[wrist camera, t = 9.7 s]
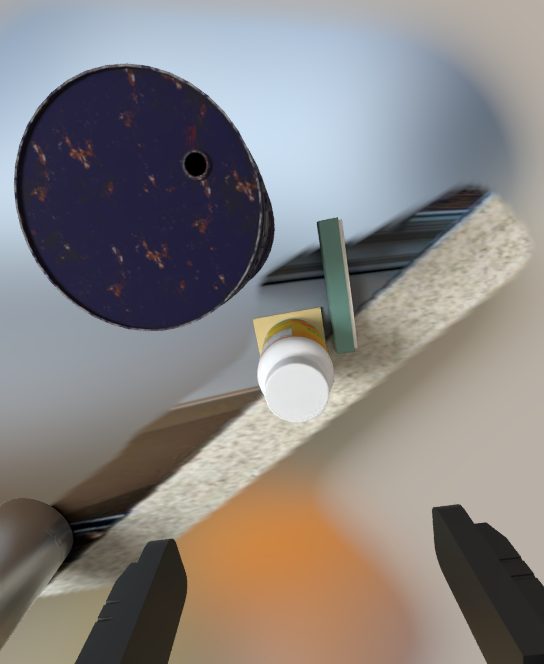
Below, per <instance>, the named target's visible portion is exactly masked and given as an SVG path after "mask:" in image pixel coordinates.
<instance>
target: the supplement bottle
mask: <svg viewBox="0 0 544 664" xmlns="http://www.w3.org/2000/svg"><path fill="white" fill-rule="evenodd" d="M333 381H334V368H333V363H332V360H331V358H330V355H329V353H328V350H327V348H326V345H325V343H324V340H323V338H322V335H321V333H320V332H319V330H318V329H317V328H316V327H315V326H314V325H313V324H312V323H310V322H308V321H306V320H303V319H299V318H289V319H285V320H282V321H280V322H278V323H276V324H275V325H274V326H273V327H272V328H271V329H270V330H269V331H268V333H267V335H266V337H265V339H264V343H263V347H262V352H261V356H260V360H259V365H258V382H259V386H260V388H261V390H262V392H263V394H264V395H265V399H266V402H267V405H268V407H269V408H270V410H271V411H272V412H273V413H274V414H275V415H276V416H278V417H279V418H281V419H283V420H286V421H289V422H296V423H297V422H305V421H309V420H311V419H313V418H315V417H317V416H318V415H319V414H320V413H321V412H322V411H323V410H324V408H325V407H326V405H327V403H328V400H329V392H330V390H331V388H332V385H333Z"/></svg>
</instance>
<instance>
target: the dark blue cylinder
mask: <svg viewBox="0 0 544 664" xmlns="http://www.w3.org/2000/svg"><path fill="white" fill-rule="evenodd" d="M14 191H15V202H16V209H17V214H18V218H19V222H20V226H21V229H22V232H23V234H24V237H25V240H26V242H27V245H28V247H29V249H30V251H31V253H32V255H33V256H34V258H35V260H36V262H37V264H38V265H39V267H40V268H41V269H42V271H43V272H44V274H45V275H46V276H47V278H48V279H49V280H50V282H51V283H52V284H53V285H54V286H55V287H56V288H57V289H58V290H59V291H60V292H61V293H62V294H63V295H64V296H65V297H66V298H67V299H69V300H70V301H71V302H72V303H74V304H75V305H76V306H77V307H79V308H81V309H82V310H84V311H85V312H87V313H89V314H90V315H92V316H94V317H95V318H98V319H100V320H103V321H105V322H107V323H109V324H112V325H116V326H119V327H123V328H127V329H133V330H141V331H162V330H168V329H174V328H179V327H182V326H185V325H188V324H190V323H193V322H195V321H198V320H200V319H201V318H203V317H205V316H207V315H208V314H210V313H212V312H213V311H214V310H216V309H217V308H218V307H219V306H221V305H223V304H224V303H226V302H227V301H228V300H229V299H231V298H232V297H233V296H234V295H236V294H237V293H238V292H239V291H240V290H241V289H242V288H243V287H244V286H245V284H246V283H247V282H248V281H249V280H251V279H252V278H253V277H254V276H255V275H256V274H257V273H258V272H259V270H260V269H261V268H262V266H263V265H264V263H265V261H266V260H267V258H268V256H269V253H270V251H271V248H272V243H273V239H274V231H275V229H274V216H273V211H272V206H271V202H270V199H269V196H268V193H267V190H266V188H265V185H264V182H263V179H262V176H261V174H260V172H259V169H258V166H257V164H256V162H255V161H254V159H253V157H252V155H251V153H250V151H249V149H248V148H247V146H246V144H245V143H244V141H243V139H242V137H241V135H240V133H239V131H238V130H237V128H236V127H235V126H234V124H233V123H232V122H231V120H230V119H229V117H228V116H227V115H226V113H225V112H224V111H223V110H222V109H221V108H220V107H219V106H218V105H217V104H216V103H215V102H214V101H213V100H212V99H211V98H210V97H209V96H208V95H206V94H205V93H204V92H202V91H201V90H200V89H198V88H197V87H195V86H194V85H193V84H191V83H190V82H188V81H186V80H184V79H182V78H180V77H178V76H176V75H174V74H172V73H170V72H167V71H163V70H160V69H157V68H153V67H150V66H144V65H134V64H116V65H105V66H102V67H98V68H94V69H91V70H87V71H84V72H83V73H80V74H79V75H77V76H75V77H73V78H71V79H69V80H67V81H66V82H64V83H63V84H62V85H60V86H59V87H58V88H57V89H55V90H54V91H53V92H51V93H50V95H49V96H48V97H47V98H46V99H45V100H44V101H43V102H42V104H41V105H40V106H39V107H38V109H37V110H36V112H35V113H34V115H33V117H32V118H31V120H30V121H29V123H28V125H27V127H26V129H25V132H24V135H23V137H22V140H21V142H20V145H19V150H18V155H17V159H16V164H15V178H14Z"/></svg>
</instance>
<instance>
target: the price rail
mask: <svg viewBox="0 0 544 664" xmlns="http://www.w3.org/2000/svg"><path fill="white" fill-rule="evenodd" d="M317 228H318V234H319V242H320V249H321V256H322V263H323V270H324V277H325V284H326V291H327V298H328V305H329V312H330V319H331V326H332V332H333V339H334V346H335V350H336V352H337V354H340V353H347V352H353V351H355V348H358V345H357V337H356V329H355V321H354V313H353V305H352V297H351V289H350V281H349V273H348V265H347V257H346V249H345V241H344V233H343V225H342V220H338V218H332V219H327V220H322V221H319V222H317Z"/></svg>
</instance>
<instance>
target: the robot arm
mask: <svg viewBox="0 0 544 664" xmlns="http://www.w3.org/2000/svg"><path fill="white" fill-rule="evenodd" d="M432 517H433V530H434V543H435V551H436V555H437V559H438V562H439V565H440V567H441V570H442V572H443V574H444V576H445V578H446V581H447V583H448V585H449V587H450V589H451V591H452V593H453V595H454V597H455V599H456V601H457V603H458V605H459V607H460V609H461V611H462V613H463V615H464V617H465V619H466V621H467V623H468V625H469V628H470V629H471V632H472V634H473V636H474V638H475V639H476V642H477V644H478V646H479V648H480V650H481V652H482V654H483V656H484V658H485V660H486V662H487V664H544V586H543V585H542V584H541V582H540V581H539V580H538V578H535V576H534V573H533V572H532V571H531V569H530V568H529V567H528V566H527V564H526V563H525V562H524V561H522V559H521V556H520V555H519V554H518V552H517V551H516V550H515V549H514V547H513V546H512V545H511V543H510V542H509V541H508V539H507V538H506V537H505V536H503V535H502V534H501V533H499V532H498V531H497V530H495V529H494V528H492V526H490V525H489V524H488V523H478V524H474V523H473V521H472V520H471V518H470V517H469V515H468V514H467V513H466V511H465V510H464V508H463V507H462V506H461V505H459V504H457V505H449V506H441V507H433V509H432ZM72 545H73V534H72V530H71V528H70V526H69V524H68V522H67V521H66V519H65V518H64V517H63V516H62V515H61V514H60V513H59V512H58V511H57V510H55V509H54V508H52V507H51V506H49V505H47V504H45V503H43V502H40V501H37V500H32V499H23V498H22V499H21V498H20V499H13V500H10V501H7V502H5V503H3V504H2V505H1V506H0V651H1V649H2V648H3V646H4V645H5V643H6V642H7V641H8V639H9V638H10V636H11V635H12V633H13V632H14V631H15V629H16V628H17V626H18V625H19V623H20V622H21V621H22V619H23V618H24V616H25V615H26V613H27V612H28V611H29V609H30V608H31V606H32V605H33V603H34V602H35V601H36V599H37V598H38V596H39V595H40V594H41V592H42V591H43V589H44V588H45V587H46V585H47V584H48V582H49V581H50V579H51V578H52V577H53V575H54V574H55V572H56V571H57V570H58V568H59V567H60V565H61V564H62V562H63V561H64V560H65V558H66V557H67V555H68V554H69V552H70V550H71V549H72ZM186 594H187V576H186V572H185V569H184V566H183V563H182V560H181V557H180V554H179V551H178V548H177V545H176V542H175V540H174V539H166V540H158V541H150V542H148V543H147V545H146V546H145V548H144V550H143V552H142V554H141V557H140V559H139V561H138V563H131V564H130V565H129V566H128V568H127V569H126V570H125V571H124V572H123V574H122V575H121V576H120V577H119V578H118V579H117V581H116V582H115V584H114V586H113V588H112V590H111V593H110V594H109V596H108V599H107V600H106V605H104V606H103V608H102V610H101V613H100V614H99V616H98V621H97V622H96V623H95V625H94V626H93V628H92V630H91V632H90V634H89V636H88V638H87V640H86V642H85V644H84V646H83V648H82V650H81V653H80V654H79V656H78V659H77V660H76V662H75V664H168V661H169V657H170V653H171V650H172V646H173V642H174V639H175V635H176V632H177V628H178V625H179V621H180V617H181V614H182V610H183V606H184V603H185V599H186Z"/></svg>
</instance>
